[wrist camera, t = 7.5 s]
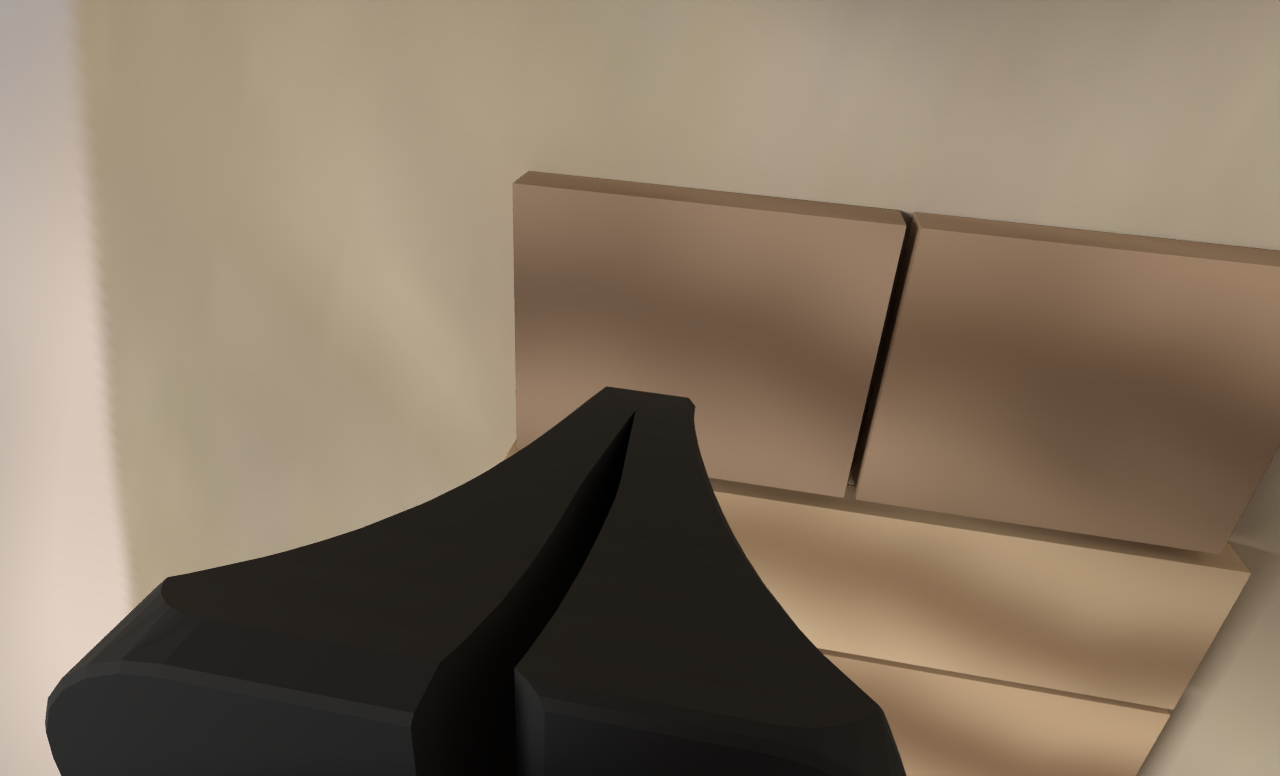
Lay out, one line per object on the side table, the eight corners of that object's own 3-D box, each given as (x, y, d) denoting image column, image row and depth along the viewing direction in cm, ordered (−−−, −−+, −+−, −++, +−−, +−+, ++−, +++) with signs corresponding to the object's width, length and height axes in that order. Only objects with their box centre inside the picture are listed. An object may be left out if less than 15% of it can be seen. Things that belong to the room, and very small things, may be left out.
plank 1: (841, 471, 21) (844, 498, 20) (530, 425, 22) (516, 448, 21) (899, 210, 17) (906, 225, 16) (528, 170, 18) (512, 183, 17)
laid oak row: (1094, 787, 24) (1108, 823, 23) (521, 679, 27) (510, 708, 26) (1227, 541, 20) (1251, 573, 19) (518, 436, 22) (504, 459, 21)
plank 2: (1197, 522, 20) (1220, 554, 19) (852, 472, 21) (855, 499, 20) (1334, 256, 16) (1371, 276, 15) (914, 212, 17) (921, 228, 16)
